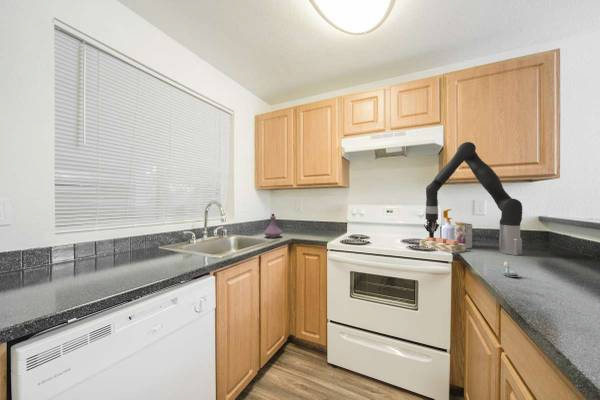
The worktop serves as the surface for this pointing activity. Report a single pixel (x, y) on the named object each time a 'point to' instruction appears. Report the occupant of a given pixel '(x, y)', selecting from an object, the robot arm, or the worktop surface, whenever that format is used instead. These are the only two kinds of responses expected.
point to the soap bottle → (447, 227)
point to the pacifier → (508, 270)
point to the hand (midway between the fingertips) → (431, 237)
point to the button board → (443, 246)
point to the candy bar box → (463, 233)
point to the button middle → (441, 240)
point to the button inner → (452, 242)
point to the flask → (272, 229)
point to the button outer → (430, 239)
